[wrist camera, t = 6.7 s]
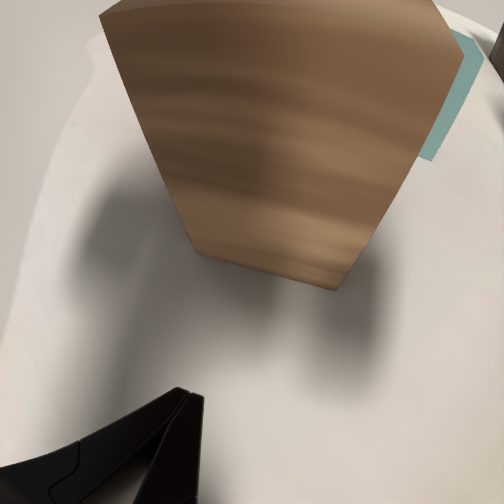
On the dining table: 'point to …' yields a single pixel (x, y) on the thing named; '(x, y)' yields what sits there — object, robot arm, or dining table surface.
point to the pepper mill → (498, 54)
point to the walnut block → (284, 118)
